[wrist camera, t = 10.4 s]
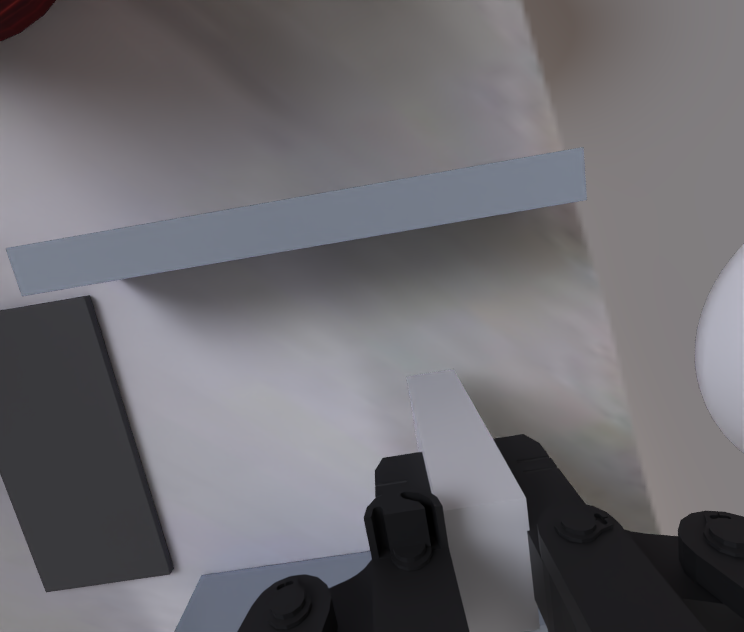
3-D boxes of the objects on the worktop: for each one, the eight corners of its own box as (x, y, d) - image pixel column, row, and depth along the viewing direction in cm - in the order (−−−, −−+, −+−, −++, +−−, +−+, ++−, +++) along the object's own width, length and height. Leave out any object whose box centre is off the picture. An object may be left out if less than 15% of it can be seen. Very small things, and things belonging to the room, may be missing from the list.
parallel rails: (208, 600, 18) (162, 708, 14) (103, 240, 15) (5, 248, 11) (560, 551, 17) (614, 648, 13) (525, 166, 14) (583, 147, 10)
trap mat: (51, 585, 18) (45, 592, 17) (-51, 319, 15) (-59, 321, 15) (173, 568, 17) (170, 574, 17) (89, 295, 15) (83, 297, 15)
